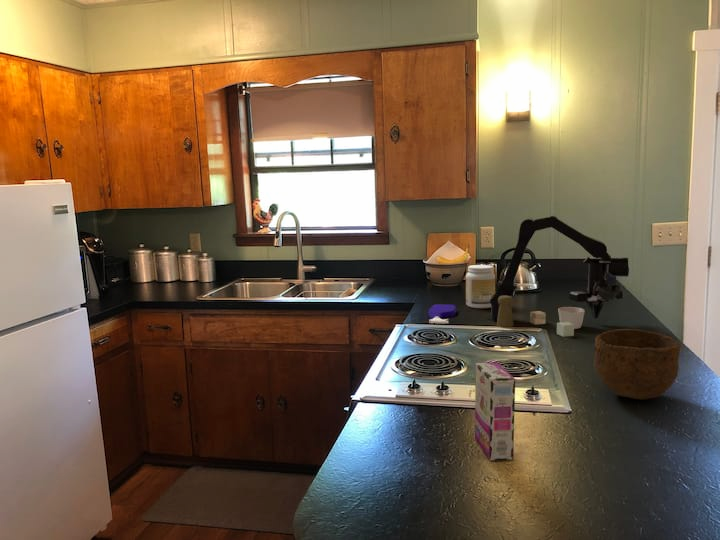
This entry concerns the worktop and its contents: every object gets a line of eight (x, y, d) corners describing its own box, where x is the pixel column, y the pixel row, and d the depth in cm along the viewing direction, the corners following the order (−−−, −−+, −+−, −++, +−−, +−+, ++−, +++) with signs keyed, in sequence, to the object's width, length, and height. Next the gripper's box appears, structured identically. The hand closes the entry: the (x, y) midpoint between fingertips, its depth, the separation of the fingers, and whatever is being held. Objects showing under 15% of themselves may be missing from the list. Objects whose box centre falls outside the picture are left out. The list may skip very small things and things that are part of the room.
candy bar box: (515, 460, 114) (516, 378, 111) (489, 462, 113) (490, 379, 111) (497, 436, 125) (497, 360, 122) (473, 437, 124) (474, 362, 122)
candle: (573, 322, 219) (573, 306, 218) (589, 328, 211) (590, 310, 210) (552, 325, 216) (552, 308, 215) (568, 330, 208) (568, 313, 207)
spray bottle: (431, 303, 246) (422, 318, 223) (458, 304, 244) (452, 319, 220) (431, 310, 247) (422, 325, 223) (458, 311, 244) (452, 326, 221)
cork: (513, 327, 214) (514, 297, 213) (496, 327, 215) (497, 297, 214) (513, 323, 220) (513, 294, 218) (496, 323, 221) (496, 294, 220)
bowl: (674, 417, 132) (677, 352, 130) (585, 402, 142) (587, 342, 140) (680, 391, 148) (684, 333, 145) (600, 379, 157) (602, 324, 155)
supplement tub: (501, 306, 250) (501, 266, 248) (480, 310, 243) (480, 269, 241) (480, 301, 260) (480, 263, 258) (459, 305, 253) (459, 266, 251)
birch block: (530, 322, 222) (530, 311, 221) (539, 321, 223) (539, 311, 222) (535, 324, 218) (535, 314, 217) (545, 323, 219) (545, 313, 218)
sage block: (556, 334, 204) (556, 322, 204) (567, 333, 205) (567, 321, 205) (563, 336, 201) (563, 325, 200) (573, 335, 201) (574, 324, 201)
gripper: (587, 281, 203) (585, 325, 205) (634, 277, 207) (632, 321, 210) (568, 276, 214) (567, 318, 216) (614, 273, 218) (612, 314, 220)
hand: (595, 318), depth 215 cm, fingers closed
